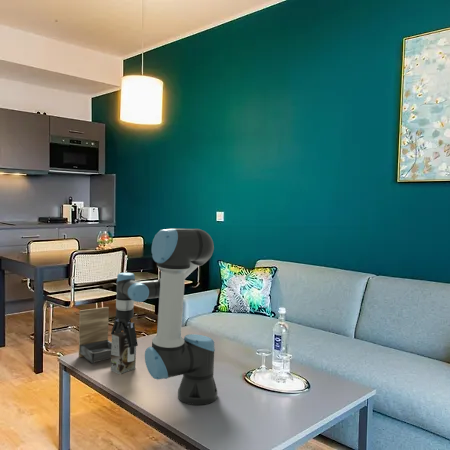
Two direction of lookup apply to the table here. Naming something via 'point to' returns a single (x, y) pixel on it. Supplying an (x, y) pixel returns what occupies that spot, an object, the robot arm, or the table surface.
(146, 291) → the robot arm
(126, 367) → the coffee box
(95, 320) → the grey and wood box
